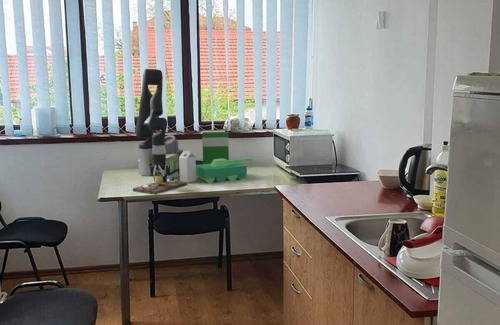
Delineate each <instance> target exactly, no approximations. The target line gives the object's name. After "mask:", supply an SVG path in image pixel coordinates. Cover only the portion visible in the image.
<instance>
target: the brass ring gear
mask: <svg viewBox="0 0 500 325" xmlns="http://www.w3.org/2000/svg"><path fill="white" fill-rule="evenodd" d="M154 183H156V184H163V183H164V182H163V174H157V175H155V181H154ZM165 183H166V182H165Z"/></svg>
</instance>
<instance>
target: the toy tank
mask: <svg viewBox="0 0 500 325" xmlns="http://www.w3.org/2000/svg"><path fill="white" fill-rule="evenodd" d="M250 161H251V162H253V161H254V159H253V157H250V158H249V157H248V158H242V159H241V158H240V159H229V160H226V159H214V160H213V161H212V163H211V164H203V163H202V164H196V178H198V179H200V180H202V181H204V182H206V183H208V184H210V183H213V182H214V181H217V182H219V183H220V182H221V183H223V182H225V181H226V180H228V181H233V182H234V181H235V180H244V179H246V177H247V174H248V169H247V168H248V166H247V165H246V164H244V163H241V162H250Z"/></svg>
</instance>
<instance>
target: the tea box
mask: <svg viewBox="0 0 500 325" xmlns="http://www.w3.org/2000/svg"><path fill="white" fill-rule="evenodd" d="M165 163H166V164H167V165H170V174H169V175H167V179H172V177H174V179H177V178H178V177H179V174H178V154H166V161H165ZM163 171H164V170H163ZM157 174H162V173H161V171H158V173H157ZM164 174H165V173H164Z"/></svg>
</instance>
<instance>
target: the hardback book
mask: <svg viewBox="0 0 500 325" xmlns="http://www.w3.org/2000/svg"><path fill="white" fill-rule="evenodd" d="M201 138H202V143H201V144H202V164H211V163H212V161H213V160H214V159H226V160H230V155H229V153H230V152H229V148H230V147H229V143H230V142H229V131H202V133H201Z"/></svg>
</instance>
